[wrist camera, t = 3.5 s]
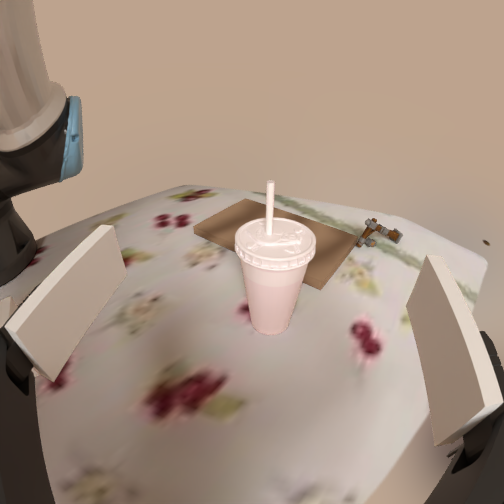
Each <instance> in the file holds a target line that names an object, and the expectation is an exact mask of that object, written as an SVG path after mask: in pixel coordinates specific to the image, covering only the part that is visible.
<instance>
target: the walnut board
mask: <svg viewBox="0 0 504 504" xmlns="http://www.w3.org/2000/svg"><path fill="white" fill-rule="evenodd" d="M273 217H278V218H285V219H290V220H294V221H297V222H299V223H301V224H303V225H305V226H306V227H308V228H309V229H310V230H311V231H312V232H313V233H314V235H315V237H316V245H315V255H314V257H313V259H312V260H311V261H309V262H308V265H307V269H306V272H305V275H304V278H303V283H306V284H308V285H310V286H312V287H315V288H317V289H319V290H321V289H322V288H323V286H324V285H325V284H326V283H327V281H328V280H329V279H330V278H331V276H332V275H333V274H334V272H335V271H336V270H337V269H338V267H339V266H340V265H341V263H342V262H343V261H344V259H345V258H346V257H347V256H348V254H349V253H350V252H351V250H352V249H353V248H354V246H355V245H356V243H357V238H358V236H355V235H352V234H350V233H347V232H344V231H341V230H338V229H336V228H333V227H330V226H327V225H324V224H321V223H319V222H316V221H313V220H310V219H307V218H304V217H301V216H298V215H295V214H292V213H289V212H286V211H283V210H280V209H277V208H274V211H273ZM260 218H266V205H264V204H261V203H258V202H255V201H252V200H249V199H244V200H242V201H240V202H238V203H236V204H234V205H232V206H230V207H228V208H226V209H225V210H223V211H221V212H219V213H217V214H215V215H213V216H212V217H210V218H208V219H206V220H204V221H202V222H201V223H199V224H197V225H195V226H193V227H194V234H196V235H198V236H201V237H203V238H205V239H207V240H209V241H212V242H214V243H216V244H218V245H221V246H223V247H225V248H227V249H229V250H232V251H234V252H236V251H235V234H236V232H237V230H238V229H239V228H240V227H241V226H242V225H244V224H245V223H247V222H250V221H252V220H256V219H260Z"/></svg>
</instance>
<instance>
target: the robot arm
mask: <svg viewBox="0 0 504 504" xmlns="http://www.w3.org/2000/svg"><path fill="white" fill-rule="evenodd" d="M82 167H83V129H82V107H81V100H80V97H78V96H69V97H68V98H67V97H66V94H65V91H64V88H63V87H62V86H61V85H60V84H58V83H56V82H53V81H49V77H48V73H47V70H46V66H45V62H44V58H43V53H42V49H41V45H40V40H39V35H38V30H37V24H36V18H35V12H34V5H33V0H0V286H2V285H3V284H5V283H7V282H8V281H10V280H11V279H13V278H14V277H15V276H17V275H18V274H19V273H20V272H21V271H22V270H23V269H24V268H25V267H26V266H27V265H28V264H29V263H30V261H31V260H32V258H33V257H34V255H35V253H36V250H37V245H36V242H35V239H34V237H33V234H32V232H31V231H30V230H29V228H28V227H27V226H26V224H25V223H24V222H23V220H22V219H21V218H20V216H19V215H18V213H17V212H16V211H15V209H14V207H13V204H12V201H11V197H13V196H16V195H19V194H22V193H25V192H28V191H31V190H34V189H37V188H40V187H44V186H47V185H50V184H54V183H57V182H62V181H63V180H64V179H67V178H70V177H73V176H76V175H77V174H79V173H80V171H81V170H82ZM126 276H127V272H126V269H125V265H124V262H123V259H122V255H121V252H120V248H119V244H118V241H117V237H116V233H115V229H114V226H111V225H100V226H99V227H98V228H97V229H96V230H95V231H94V232H92V233H91V234H90V235H89V236H88V237H87V238H86V239H85V240H84V241H83V242H82V243H81V244H80V245H78V246H77V247H76V248H75V249H74V250H73V251H72V252H71V253H70V254H69V255H68V256H67V257H66V258H65V259H64V260H63V261H62V262H61V263H60V264H59V265H58V266H57V267H56V268H55V269H54V270H53V271H52V272H51V273H50V275H49V276H48V277H47V278H46V279H45V280H44V281H43V282H42V283H41V284H39V285H38V286H36V287H35V289H34V290H33V291H32V292H31V293H30V294H29V297H28V296H27V297H26V299H25V300H24V301H23V303H21V304H20V306H19V307H18V308H17V309H16V310H15V311H14V313H13V314H12V315H11V316H10V318H9V319H8V320H7V321H6V322H5V324H4V325H3V326H2V327H1V328H0V504H55V501H54V497H53V494H52V490H51V487H50V483H49V479H48V475H47V471H46V466H45V461H44V456H43V451H42V446H41V439H40V433H39V426H38V417H37V407H36V395H35V377H34V373H33V372H32V371H31V370H32V368H33V367H35V368H36V369H37V371H38V372H39V373H40V374H41V375H42V376H43V377H45V378H47V379H49V380H51V381H52V382H54V381H55V379H56V378H57V376H58V374H59V373H60V371H61V370H62V368H63V366H64V365H65V363H66V362H67V360H68V358H69V357H70V355H71V354H72V352H73V351H74V349H75V348H76V346H77V345H78V343H79V342H80V340H81V339H82V337H83V336H84V334H85V333H86V331H87V330H88V328H89V327H90V325H91V324H92V323H93V321H94V320H95V318H96V317H97V315H98V314H99V313H100V311H101V310H102V308H103V307H104V306H105V304H106V303H107V302H108V300H109V299H110V297H111V296H112V295H113V293H114V292H115V291H116V289H117V288H118V287H119V285H120V284H121V283H122V281H123V280H124V279H125V277H126ZM406 308H407V311H408V315H409V318H410V322H411V325H412V329H413V333H414V337H415V341H416V344H417V349H418V353H419V357H420V361H421V366H422V370H423V375H424V380H425V385H426V391H427V396H428V402H429V408H430V415H431V421H432V429H433V438H434V447H436V446H442V445H447V444H452V443H454V442H455V441H456V440H458V439H459V438H461V437H462V436H463V440H464V443H463V444H461V445H460V446H458V447H457V448H455V449H454V450H452V451H451V452H450V453H449V454H448V455H447V457H450V456H452V455H453V454H455V453H456V454H455V456H454V458H452V461H451V463H450V465H449V466H448V468H447V470H446V471H445V473H444V475H443V476H442V478H441V480H440V481H439V483H438V484H437V486H436V487H435V489H434V490H433V492H432V493H431V495H430V496H429V498H428V499H427V500H426V502H425V503H424V504H504V370H503V367H502V366H501V362H500V359H499V357H498V356H497V351H496V349H495V346H494V344H493V342H492V340H491V339H490V338H489V336H488V335H487V334H486V333H485V332H484V331H479V330H478V327H477V325H476V323H475V320H474V318H473V316H472V314H471V312H470V309H469V307H468V305H467V303H466V301H465V299H464V297H463V295H462V293H461V291H460V289H459V287H458V285H457V283H456V281H455V279H454V277H453V276H452V274H451V272H450V270H449V268H448V266H447V265H446V263H445V261H444V259H443V258H442V256H433V255H426V257H425V260H424V263H423V266H422V268H421V271H420V273H419V276H418V279H417V281H416V284H415V286H414V288H413V291H412V293H411V296H410V298H409V300H408V302H407V305H406Z"/></svg>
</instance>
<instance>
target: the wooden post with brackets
mask: <svg viewBox="0 0 504 504" xmlns="http://www.w3.org/2000/svg"><path fill="white" fill-rule="evenodd" d="M376 222H377V220H376V219H375V218H372V220H370V219H369V218H368V220H366V221H365V224H366V225H367V228H366V229H365V231H364V233H363V234H362V236H360V238H359V239H358V240H359V241H358V242H357V244H356V245H357V246H358V247H361V246H362V245H363V244H364V243H365V244H366V245H367V246H368V247H370V246H372V247H374V246H375V245H376V243H377V242H375V241H374V240H373V239H370V238H369V237H368V236H369V235H370V234H372V233H373V232H374V231H378V232H379V233H381V234H383V235H385V236H386V235H387V236H389V238H390V239H391V240H392V241H394V242H395V243H396V244H398V242H399V241H400V239H401V237H402V236H403V234H402V233H401V232H399V231H398V230H397V229H395V228H394V230H393V231H392V230H388V229H387V228H386V227H383V226H382V225H380V224H379V225H378V224H377V223H376ZM367 237H368V238H367ZM366 238H367V239H366Z"/></svg>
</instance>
